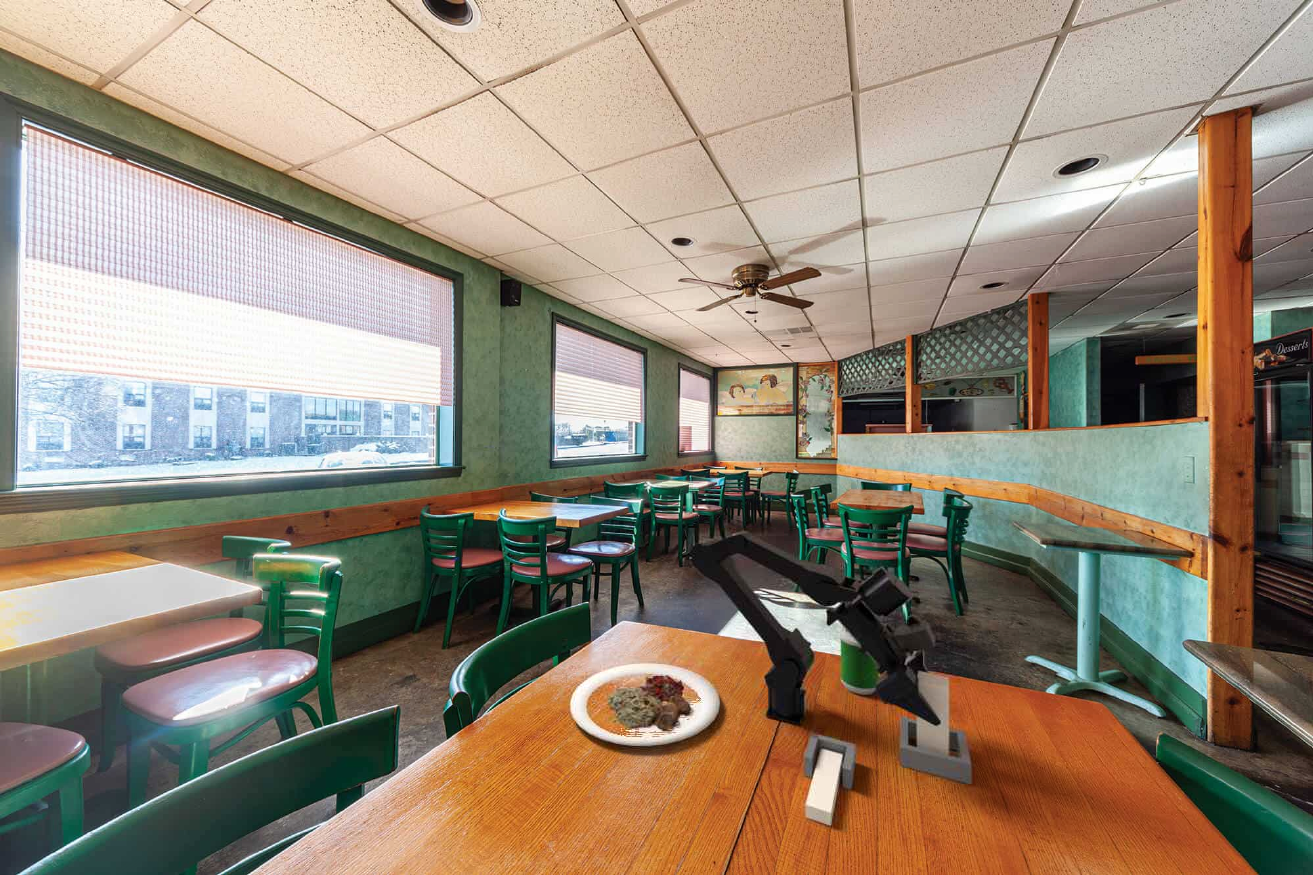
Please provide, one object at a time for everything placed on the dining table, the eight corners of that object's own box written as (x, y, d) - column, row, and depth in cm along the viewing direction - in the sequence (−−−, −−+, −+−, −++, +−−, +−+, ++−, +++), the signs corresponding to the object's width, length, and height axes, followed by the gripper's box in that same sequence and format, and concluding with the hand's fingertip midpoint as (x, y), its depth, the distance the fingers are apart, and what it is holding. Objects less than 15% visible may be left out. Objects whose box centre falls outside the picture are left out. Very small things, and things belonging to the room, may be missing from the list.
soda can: (882, 698, 100) (882, 640, 100) (844, 694, 101) (843, 637, 101) (874, 680, 107) (873, 626, 107) (838, 677, 108) (837, 624, 109)
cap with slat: (792, 812, 69) (792, 791, 69) (811, 750, 83) (811, 732, 83) (844, 830, 66) (844, 808, 66) (855, 762, 80) (855, 744, 80)
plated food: (548, 748, 84) (548, 729, 84) (591, 668, 114) (591, 654, 114) (721, 760, 81) (720, 740, 81) (719, 674, 111) (718, 660, 111)
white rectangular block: (917, 759, 80) (916, 681, 81) (919, 745, 84) (918, 670, 84) (948, 769, 78) (947, 688, 78) (949, 754, 82) (948, 677, 82)
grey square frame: (899, 765, 79) (899, 746, 79) (900, 732, 88) (900, 716, 88) (971, 784, 74) (971, 765, 74) (964, 748, 83) (964, 731, 83)
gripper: (897, 621, 76) (982, 713, 70) (908, 590, 92) (978, 663, 85) (845, 660, 80) (921, 749, 74) (864, 623, 96) (928, 695, 90)
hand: (939, 710), depth 81 cm, fingers open, 9 cm apart
